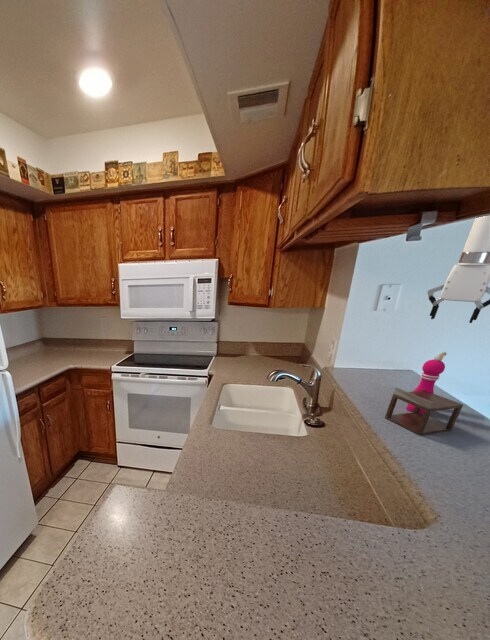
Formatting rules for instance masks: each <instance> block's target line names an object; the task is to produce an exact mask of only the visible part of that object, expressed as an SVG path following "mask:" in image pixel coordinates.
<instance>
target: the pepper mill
mask: <svg viewBox="0 0 490 640" xmlns="http://www.w3.org/2000/svg"><path fill="white" fill-rule="evenodd" d="M439 355H440V354H437V355H435V356H434V357H433V359H429V360H426V361H425V362H424V363H423V365H422V367H421V369H422V371H423V372H422V373H421V375H420V378H421V379H420V382H419V384H418V385H417V387H416V388H414V390H412V391H411V392H413V391H422V390H425V391H428V392H431V393H433V394H435V391H434V386H435V384H436V382H437V381H438V380H439V378H440V377H441V376H440V374H443V373H444V372H445V369H446V364H445V363H444V362H443V360H442V361H440V359H441V357H440V356H439ZM414 409H415V406H413V405H411V404H409V403H407V405H406V410H407V411H409V412H410V413H412V412H413V411H414ZM424 412H425V410H423V409H420V411H419V414H421V415H423V414H424Z"/></svg>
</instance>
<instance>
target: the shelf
mask: <svg viewBox="0 0 490 640" xmlns="http://www.w3.org/2000/svg"><path fill="white" fill-rule="evenodd" d="M412 391H413V392H412ZM412 391H407V390H404V389H401V388H399V387H395V388H394V390H393V393H392V396H391V399H390V402H389V404H388V407H387V411H386V413H385V417H384V419H386V420H388V421H390V422H392V423H394V424H395V425H397V426H399V427H402V428H404V430H407V431H410V432H411V433H413V434H415V435H417V436H424V435H431V434H436V433H437V434H438V433H444V432H450V431H452V430H453V428H454V426H455V424H456V422H457V420H458V417H459V415H460V413H461V411H462V409H463V407H464V404H462V403H461V402H457V401H454V400H453V399H449V398H446V397H444V396H441V395H438V394H436V393H434V394H433V393H431V392H428V391H425V390H422V391H414V390H412ZM398 400H399V401H402V402H404V403H407V404H408V403H409V404H411V405H413V406H415V409H414V411H413V412H406V413H397V414H393V413H394V410H395V409H396V408H395V407H396V405H397V402H398ZM420 409H423V410H425V412H424V414H421V413H419V411H420ZM448 410H452V413H451V415H450V417H449V419H448V422H447V424H446V425H445V424H443V423H442V422H439V421H437V420H435V419H432V418H431V414H432V413H433V412H439V411H440V412H441V411H448Z"/></svg>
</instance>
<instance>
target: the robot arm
mask: <svg viewBox="0 0 490 640" xmlns="http://www.w3.org/2000/svg"><path fill="white" fill-rule="evenodd" d="M489 283H490V216H483V217H479V218H476V217H475V218H474V220H473V224H472V226H471V229H470V230H469V234H468V236H467V239H466V241H465V244H464V248H463V249H462V252H461V254H460V257H459V260H458V262H457V264H454V265H453V266H452V268H451V270H450V272H449V274H448V276H447V278H446V280H445V283H444V284H442V285H438V286H436V287H433V288H431V289H429V290H427V296H428V297H427V298H428V301H429V302H430V303H431V304H432V308H431V310H430V313H429V317H430V320H434V319H436V315H437V313H438V311H439V307H440V304H441V303H442V302H443V301H451V302H452V301H453V302H467V303H474V304H475V306H476V307H475V308H474V310H473V312H472V314H471V317H470V319H469V321H468V322H469V324H473V321H477V319H478V316H479V314H480V313H481V310H482V309H484V308H486V307H488V306H490V298H489V299H488V300H486V301H484V302H482V299H483V297H484V295H485V293H487V294H489V295H490V287H489ZM439 291H441V293H440V296H439V298H438V299H436V297H435V294H434V293H436V292H439Z"/></svg>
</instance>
